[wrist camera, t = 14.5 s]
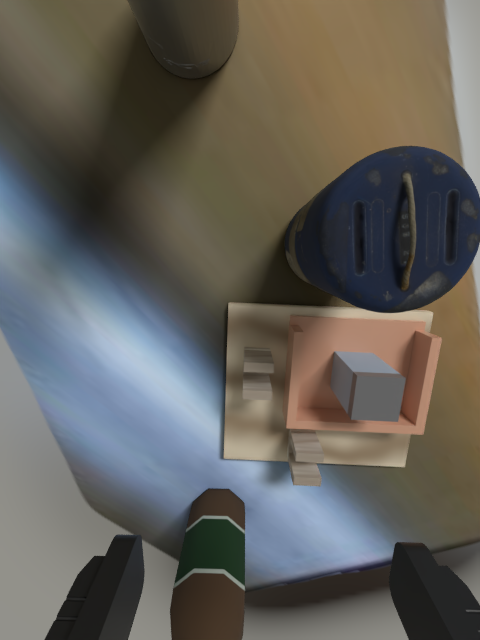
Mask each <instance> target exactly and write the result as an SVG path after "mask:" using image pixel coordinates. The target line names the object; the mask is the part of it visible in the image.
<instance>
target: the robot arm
mask: <svg viewBox="0 0 480 640" xmlns="http://www.w3.org/2000/svg"><path fill="white" fill-rule="evenodd" d="M127 1H128V3H129V5H130V7H131V9H132V11H133V14H134V16H135V18H136V20H137V23H138V25H139V27H140V29H141V31H142V33H143V35H144V38H145V40H146V42H147V44H148V46H149V48H150V50H151V52H152V54H153V55H154V57H155V58H156V60H157V61H158V62H159V63H160V64H161V65H162V66H163V67H164V68H165V69H166V70H168V71H169V72H171V73H172V74H175V75H177V76H180V77H183V78H190V79H193V78H201V77H204V76H207V75H210V74H212V73H213V72H215V71H216V70H218V69H219V68H220V67H221V66H222V65H223V64H224V63H225V62H226V60H227V59H228V57H229V56H230V54H231V53H232V50H233V48H234V46H235V43H236V39H237V34H238V20H239V17H238V0H127ZM143 582H144V560H143V549H142V538H141V536H140V535H116V536H115V537H114V539H113V541H112V542H111V545H110V547H109V549H108V551H107V553H106V556H94V557H93V558H92V559H91V560H90V562H89V563H88V564H87V565H86V566H85V567H84V568H83V569H82V571H81V572H80V573H79V574H78V575H77V578H76V579H75V581H74V583H73V586H72V587H71V589H70V591H69V594H68V595H67V599H66V601H64V603H63V605H62V607H61V609H60V611H59V613H58V615H57V618H56V620H55V621H54V623H53V625H52V626H51V628H50V630H49V632H48V634H47V636H46V638H45V640H128V637H129V634H130V631H131V627H132V624H133V620H134V617H135V614H136V610H137V607H138V604H139V600H140V597H141V593H142V588H143ZM389 585H390V591H391V596H392V599H393V602H394V605H395V607H396V610H397V612H398V615H399V617H400V619H401V622H402V624H403V627H404V629H405V631H406V633H407V636H408V638H409V640H480V605H479V603H478V602H477V600H476V599H475V597H474V596H473V594H472V593H471V591H470V590H469V588H468V587H467V585H466V584H465V583H464V582H463V581H462V580H461V579H460V578H459V577H458V576H457V575H456V574H454V572H452V571H451V570H450V568H448V566H438V564H437V563H436V561H435V559H434V558H433V556H432V554H431V553H430V551H429V549H428V548H427V547H426V546H425V545H424V544H423V543H406V542H397V543H396V544H395V548H394V553H393V559H392V565H391V571H390V576H389Z"/></svg>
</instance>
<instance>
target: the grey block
mask: <svg viewBox="0 0 480 640" xmlns="http://www.w3.org/2000/svg"><path fill="white" fill-rule="evenodd" d="M405 381H406V378H405V377H404V376H402V375H401V374H400V373H398V372H397V371H396V370H394V369H393V368H392V367H391V366H389V365H388V364H387V363H385V362H384V361H383V360H381V359H380V358H379V357H378V356H376V355H375V354H374V353H362V352H341V351H334V358H333V366H332V375H331V383H330V388H331V389H332V391H333V392H334V394H335V395H336V397H337V399H338V400H339V402H340V403H341V405H342V406H343V408H344V409H345V411H346V413H347V414H348V416H349V417H350V419H351V420H368V421H388V422H398V420H399V414H400V409H401V403H402V397H403V392H404V386H405Z"/></svg>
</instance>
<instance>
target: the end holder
mask: <svg viewBox="0 0 480 640" xmlns="http://www.w3.org/2000/svg"><path fill="white" fill-rule="evenodd" d="M425 325H426V322H425V321H414V320H391V319H367V318H343V317H319V316H295V315H290V320H289V333H288V346H287V359H286V372H285V384H284V397H283V410H282V412H283V416H284V420H285V424H286V428H289V429H311V430H333V431H354V432H376V433H398V434H420V435H423V433H424V428H425V423H426V418H427V413H428V408H429V403H430V398H431V392H432V387H433V382H434V377H435V372H436V367H437V362H438V357H439V352H440V347H441V342H442V338H440V337H438V336H436V335H433V334H431V333H429V332H426V331H425ZM334 351H341V352H362V353H374V354H375V355H376V356H378V357H379V358H380V359H381V360H383V361H384V362H385V363H387V364H388V365H389V366H391V367H392V368H393V369H394V370H396V371H397V372H398V373H400V374H401V375H402V376H404V377H405V378H406V381H405V386H404V392H403V397H402V403H401V409H400V414H399V420H398V422H388V421H368V420H351V419H350V417H349V416H348V414H347V413H346V411H345V409H344V408H343V406H342V405H341V403H340V402H339V400H338V399H337V397H336V395H335V394H334V392H333V391H332V389H331V388H330V383H331V375H332V366H333V358H334Z"/></svg>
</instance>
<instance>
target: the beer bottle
mask: <svg viewBox="0 0 480 640" xmlns="http://www.w3.org/2000/svg"><path fill="white" fill-rule="evenodd" d="M244 601H245V506H244V502H243V501H242V500H241V499H240V498H239V497H237V496H236V495H235V494H234V493H233V492H232V491H231V490H229V489H208V490H206V491H205V492H204V493H203V494H202V495H200V496H199V497H198V498H197V499H196V500H195V501H194V502H193V504H192V507H191V511H190V515H189V519H188V524H187V529H186V533H185V538H184V542H183V547H182V551H181V556H180V561H179V565H178V570H177V575H176V579H175V584H174V588H173V595H172V602H171V608H170V615H171V634H172V640H242V636H243V626H244V624H243V623H244Z"/></svg>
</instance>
